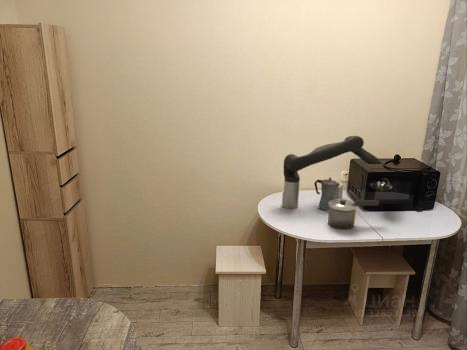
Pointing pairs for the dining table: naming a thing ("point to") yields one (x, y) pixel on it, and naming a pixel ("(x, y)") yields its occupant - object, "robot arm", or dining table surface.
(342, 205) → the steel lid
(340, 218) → the cooker pot
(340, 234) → the dining table surface
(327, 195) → the moka pot
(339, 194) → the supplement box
